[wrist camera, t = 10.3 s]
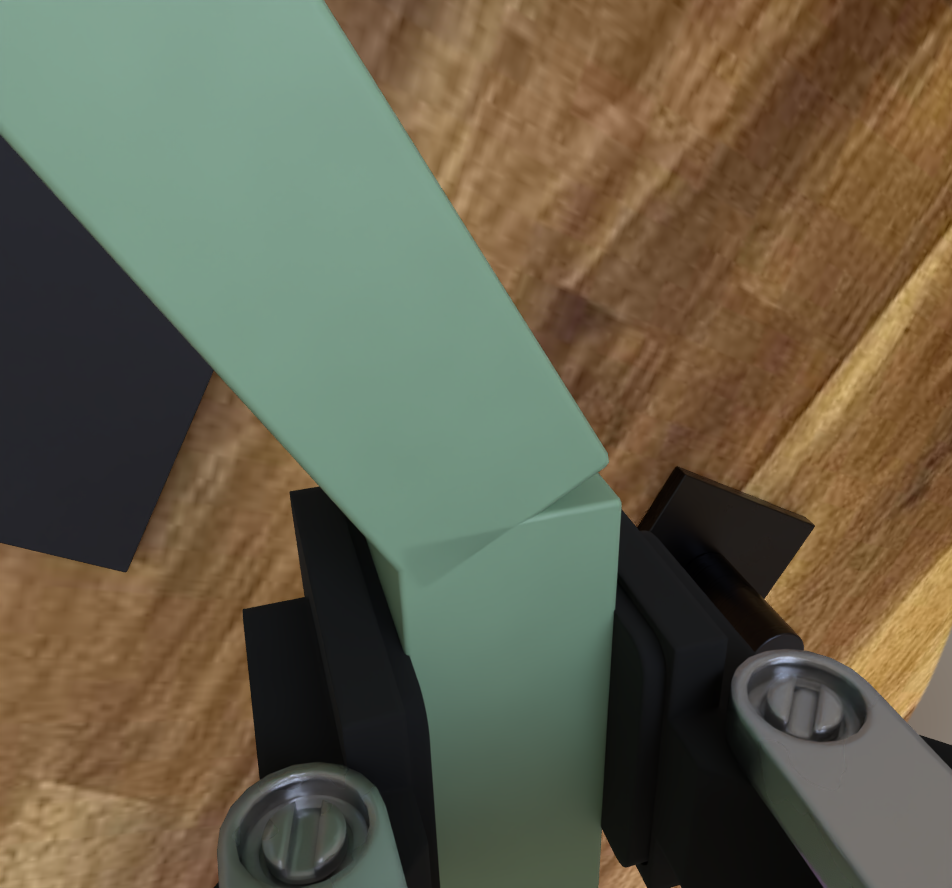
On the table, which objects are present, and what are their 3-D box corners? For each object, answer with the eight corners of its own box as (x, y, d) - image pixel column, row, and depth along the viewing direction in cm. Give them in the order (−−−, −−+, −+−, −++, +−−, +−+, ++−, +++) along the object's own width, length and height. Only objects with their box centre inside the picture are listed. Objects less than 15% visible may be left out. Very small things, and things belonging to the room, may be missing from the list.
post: (676, 465, 38) (762, 550, 32) (805, 516, 41) (902, 601, 36) (582, 614, 40) (647, 717, 34) (712, 651, 43) (790, 749, 38)
